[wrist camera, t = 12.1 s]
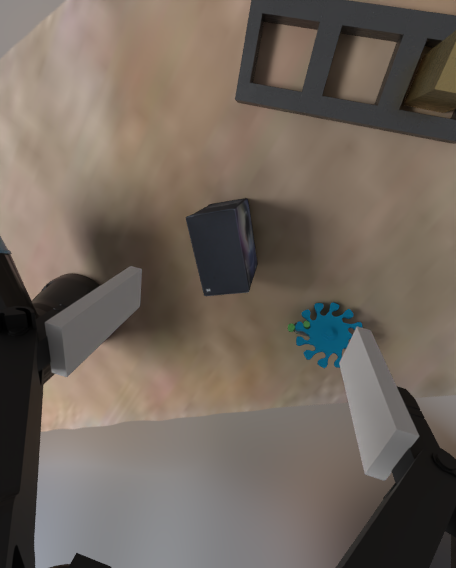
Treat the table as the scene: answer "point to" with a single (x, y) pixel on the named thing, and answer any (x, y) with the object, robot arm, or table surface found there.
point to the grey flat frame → (330, 23)
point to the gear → (325, 333)
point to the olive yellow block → (435, 79)
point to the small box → (224, 247)
